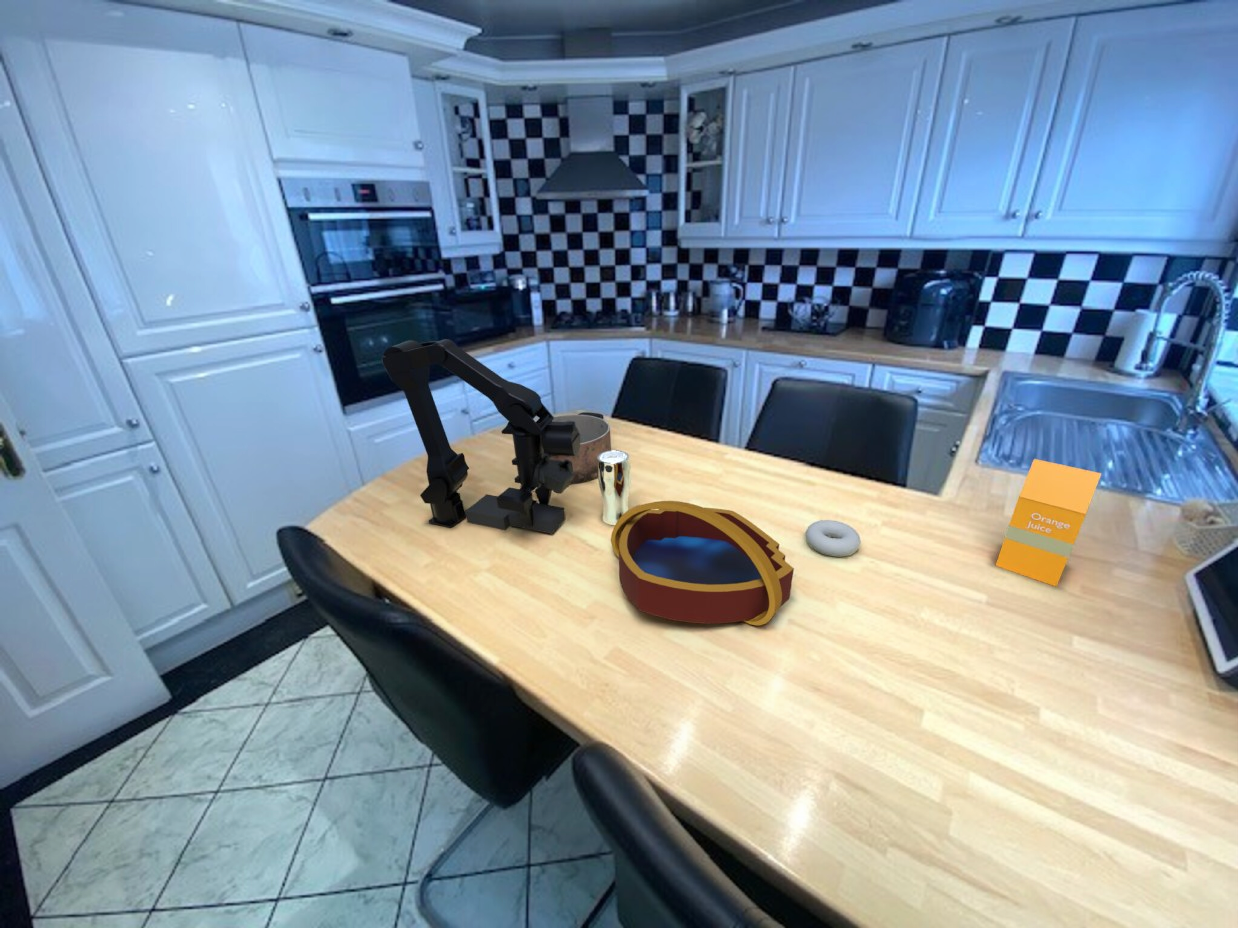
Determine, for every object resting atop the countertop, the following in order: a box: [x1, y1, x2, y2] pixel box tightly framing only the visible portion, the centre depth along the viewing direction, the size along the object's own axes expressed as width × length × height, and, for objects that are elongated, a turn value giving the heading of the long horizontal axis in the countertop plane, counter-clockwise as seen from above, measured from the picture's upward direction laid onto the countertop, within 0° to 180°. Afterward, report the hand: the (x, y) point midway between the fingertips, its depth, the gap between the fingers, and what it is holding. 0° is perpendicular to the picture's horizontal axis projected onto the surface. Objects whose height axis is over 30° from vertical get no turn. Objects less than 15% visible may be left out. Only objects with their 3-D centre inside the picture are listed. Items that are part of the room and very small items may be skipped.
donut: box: [805, 519, 861, 557], centre depth 98 cm, size 10×4×10 cm
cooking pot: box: [543, 411, 612, 485], centre depth 134 cm, size 30×22×11 cm
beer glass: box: [597, 449, 632, 526], centre depth 108 cm, size 7×7×15 cm
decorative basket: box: [610, 500, 795, 626], centre depth 88 cm, size 34×29×15 cm
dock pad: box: [464, 494, 518, 531], centre depth 113 cm, size 13×8×3 cm, turn 68°
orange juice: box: [995, 458, 1102, 587], centre depth 87 cm, size 8×9×20 cm
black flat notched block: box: [508, 502, 566, 534], centre depth 109 cm, size 10×6×3 cm, turn 68°
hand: (537, 518), depth 109 cm, fingers closed on black flat notched block, 6 cm apart
